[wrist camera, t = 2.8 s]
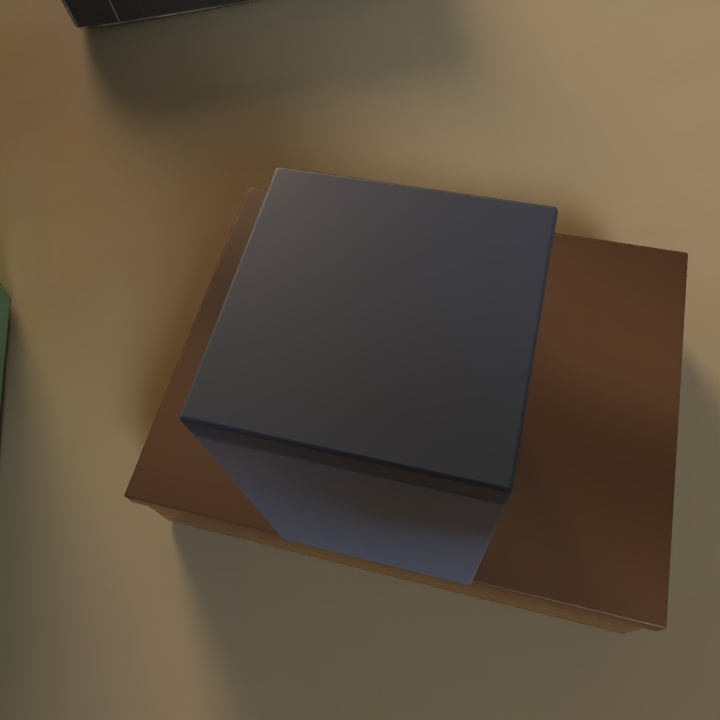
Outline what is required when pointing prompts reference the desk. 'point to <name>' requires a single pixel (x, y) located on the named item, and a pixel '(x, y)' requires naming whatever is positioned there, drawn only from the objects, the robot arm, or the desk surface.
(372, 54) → the desk surface
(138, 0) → the disk drive
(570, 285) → the brown flat block
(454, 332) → the small box
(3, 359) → the box
